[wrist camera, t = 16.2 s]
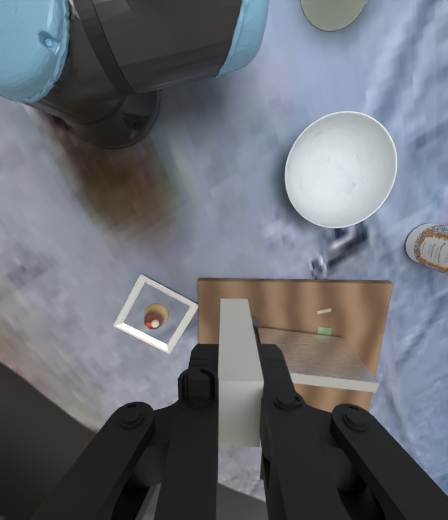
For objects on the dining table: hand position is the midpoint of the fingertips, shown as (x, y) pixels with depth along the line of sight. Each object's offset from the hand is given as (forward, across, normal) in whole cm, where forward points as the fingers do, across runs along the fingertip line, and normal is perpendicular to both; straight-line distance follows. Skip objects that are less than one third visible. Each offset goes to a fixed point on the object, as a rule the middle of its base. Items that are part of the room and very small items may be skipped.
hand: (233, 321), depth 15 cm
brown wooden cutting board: (+32, +12, -23) cm, 42 cm away
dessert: (+33, -13, -16) cm, 39 cm away
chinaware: (+33, +15, +9) cm, 37 cm away
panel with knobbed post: (+30, +12, -19) cm, 37 cm away
